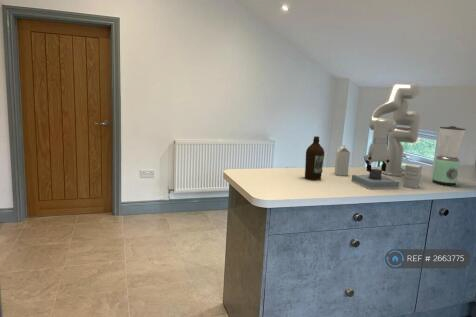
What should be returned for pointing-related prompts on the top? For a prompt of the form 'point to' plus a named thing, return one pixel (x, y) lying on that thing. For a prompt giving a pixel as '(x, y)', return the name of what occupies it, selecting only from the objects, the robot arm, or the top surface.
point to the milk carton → (342, 161)
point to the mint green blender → (448, 155)
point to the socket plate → (375, 182)
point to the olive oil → (314, 160)
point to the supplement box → (412, 176)
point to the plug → (375, 174)
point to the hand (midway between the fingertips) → (375, 171)
